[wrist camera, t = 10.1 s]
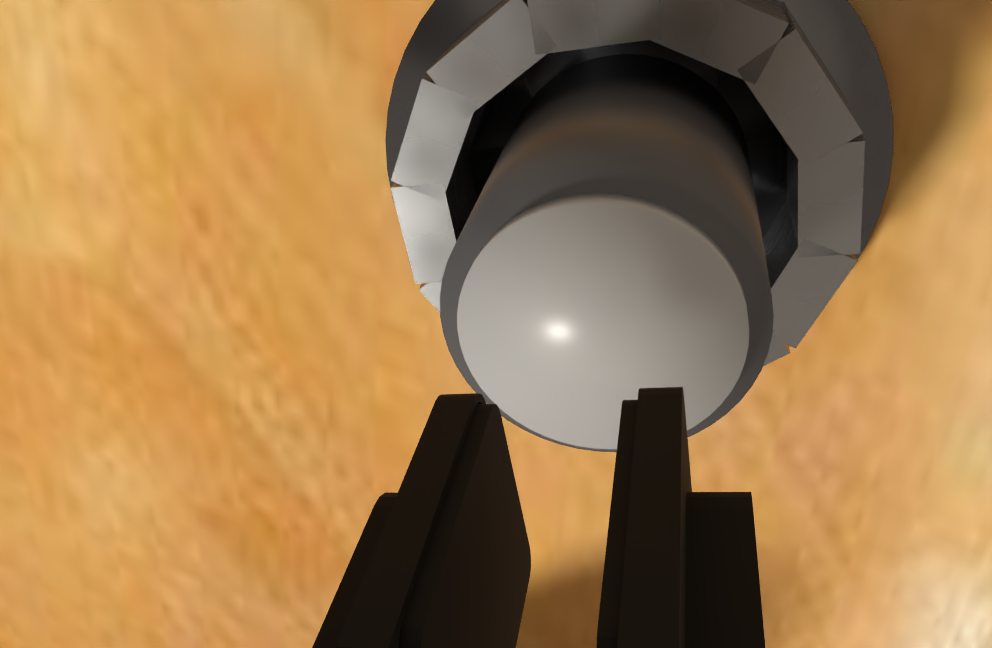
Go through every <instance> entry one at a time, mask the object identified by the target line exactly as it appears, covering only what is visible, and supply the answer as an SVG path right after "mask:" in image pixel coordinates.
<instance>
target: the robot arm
mask: <svg viewBox="0 0 992 648" xmlns="http://www.w3.org/2000/svg"><path fill="white" fill-rule="evenodd" d="M530 570H531V554H530V546H529V542H528V537H527V532H526V528H525V523H524V519H523V514H522V510H521V505H520V500H519V496H518V491H517V487H516V482H515V478H514V473H513V468H512V464H511V459H510V455H509V450H508V446H507V441H506V436H505V432H504V427H503V423H502V418H501V413H500V410H499V407H498V405H496V404H486V402H485V399H484V397H483V395H482V394H480V393H477V394H446V395H440V396H438V398H437V400H436V401H435V404H434V406H433V409H432V411H431V413H430V416H429V418H428V421H427V423H426V426H425V428H424V431H423V433H422V435H421V438H420V440H419V443H418V445H417V448H416V450H415V453H414V455H413V457H412V460H411V462H410V465H409V467H408V470H407V472H406V474H405V477H404V479H403V482H402V484H401V487H400V489H399V492H398V493H384V494H383V495H381V496H380V497H379V499H378V500H377V502H376V504H375V505H374V507H373V510H372V512H371V514H370V517H369V519H368V521H367V523H366V526H365V528H364V530H363V533H362V535H361V537H360V540H359V542H358V544H357V546H356V549H355V551H354V553H353V556H352V558H351V560H350V562H349V565H348V567H347V569H346V572H345V574H344V576H343V579H342V581H341V583H340V585H339V588H338V590H337V592H336V595H335V597H334V599H333V602H332V604H331V606H330V608H329V611H328V613H327V615H326V618H325V620H324V622H323V624H322V627H321V629H320V631H319V634H318V636H317V638H316V641H315V643H314V645H313V647H312V648H515V647H516V642H517V637H518V632H519V627H520V622H521V617H522V612H523V608H524V603H525V598H526V593H527V588H528V583H529V578H530ZM597 648H765V640H764V629H763V617H762V606H761V595H760V583H759V572H758V561H757V549H756V538H755V527H754V515H753V504H752V495H751V492H692V488H691V476H690V463H689V451H688V439H687V426H686V414H685V402H684V392H683V387H663V388H639V391H638V400H623V401H622V407H621V417H620V426H619V435H618V444H617V454H616V463H615V472H614V481H613V491H612V500H611V509H610V518H609V528H608V537H607V546H606V555H605V565H604V574H603V583H602V592H601V602H600V611H599V620H598V631H597Z"/></svg>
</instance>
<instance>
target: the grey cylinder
mask: <svg viewBox="0 0 992 648" xmlns="http://www.w3.org/2000/svg"><path fill="white" fill-rule="evenodd" d="M440 317H441V322H442V328H443V333H444V337H445V340H446V343H447V346H448V349H449V351H450V353H451V356H452V358H453V360H454V362H455V364H456V366H457V368H458V369H459V371H460V372H461V374H462V375H463V377H464V378H465V380H466V381H467V383H468V384H469V385H470V386H471V387H472V389H473V390H474V391H475V392H476V393H480V394H482V395H483V397H484V399H485V402H486V403H487V404H496V405H498V407H499V410H500V413H501V416H503V417H504V418H505V419H507V420H508V421H510V422H512V423H513V424H515V425H517V426H518V427H520V428H522V429H523V430H525V431H528V432H530V433H532V434H534V435H536V436H538V437H540V438H543V439H546V440H549V441H552V442H555V443H558V444H561V445H565V446H569V447H574V448H578V449H584V450H592V451H603V452H617V444H618V435H619V426H620V417H621V407H622V401H623V400H638V391H639V388H663V387H683V392H684V402H685V414H686V426H687V437H689V436H692V435H694V434H696V433H698V432H700V431H701V430H703V429H705V428H707V427H709V426H710V425H712V424H713V423H715V422H716V421H717V420H719V419H720V418H722V417H723V416H724V415H726V414H727V413H728V412H729V411H730V410H731V409H732V408H733V407H734V406H735V405H736V404H737V403H738V402H740V400H741V399H742V398H743V397H744V395H745V394H746V393H747V392H748V390H749V389H750V388H751V387H752V385H753V383H754V382H755V380H756V378H757V377H758V375H759V373H760V372H761V370H762V367H763V365H764V362H765V360H766V357H767V355H768V352H769V347H770V343H771V338H772V333H773V318H774V314H773V303H772V294H771V288H770V282H769V276H768V270H767V264H766V258H765V251H764V245H763V239H762V233H761V227H760V221H759V215H758V209H757V203H756V197H755V191H754V185H753V179H752V172H751V166H750V160H749V154H748V148H747V144H746V140H745V136H744V133H743V130H742V128H741V125H740V123H739V121H738V118H737V117H736V115H735V113H734V112H733V110H732V108H731V107H730V105H729V104H728V102H727V101H726V100H725V99H724V97H723V96H722V95H721V94H720V93H719V92H718V91H717V90H716V89H715V88H714V87H713V86H712V85H711V84H710V83H709V82H708V81H706V80H705V79H703V78H702V77H701V76H699V75H698V74H696V73H695V72H693V71H691V70H689V69H687V68H685V67H683V66H682V65H680V64H677V63H674V62H671V61H669V60H666V59H663V58H658V57H653V56H648V55H639V54H618V55H609V56H604V57H599V58H594V59H591V60H588V61H585V62H582V63H579V64H577V65H575V66H573V67H571V68H569V69H567V70H565V71H563V72H562V73H560V74H559V75H557V76H556V77H555V78H553V79H552V80H550V81H549V82H548V83H547V84H546V85H545V86H543V87H542V88H541V89H540V90H539V91H538V92H537V93H536V94H535V96H534V97H533V98H532V99H531V100H530V101H529V103H528V104H527V106H526V107H525V109H524V110H523V112H522V113H521V115H520V117H519V119H518V121H517V123H516V125H515V127H514V129H513V131H512V133H511V135H510V137H509V139H508V141H507V143H506V145H505V147H504V148H503V150H502V152H501V154H500V156H499V158H498V160H497V162H496V164H495V166H494V168H493V170H492V172H491V174H490V176H489V178H488V180H487V182H486V184H485V186H484V188H483V190H482V192H481V194H480V196H479V198H478V200H477V202H476V204H475V206H474V208H473V210H472V212H471V214H470V216H469V218H468V220H467V222H466V224H465V226H464V228H463V230H462V232H461V234H460V236H459V238H458V240H457V242H456V244H455V246H454V248H453V250H452V252H451V254H450V257H449V259H448V261H447V264H446V267H445V271H444V274H443V278H442V284H441V292H440Z"/></svg>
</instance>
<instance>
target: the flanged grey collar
mask: <svg viewBox="0 0 992 648" xmlns="http://www.w3.org/2000/svg"><path fill="white" fill-rule="evenodd" d="M618 54H639V55H648V56H653V57H658V58H663V59H666V60H669V61H671V62H674V63H677V64H680V65H682V66H683V67H685V68H687V69H689V70H691V71H693V72H695V73H696V74H698V75H699V76H701V77H702V78H703V79H705V80H706V81H708V82H709V83H710V84H711V85H712V86H713V87H714V88H715V89H716V90H717V91H718V92H719V93H720V94H721V95H722V96H723V97H724V99H725V100H726V101H727V102H728V104H729V105H730V107H731V108H732V110H733V112H734V113H735V115H736V117H737V118H738V121H739V123H740V125H741V128H742V130H743V133H744V136H745V140H746V144H747V148H748V154H749V160H750V166H751V172H752V179H753V185H754V191H755V197H756V203H757V209H758V215H759V221H760V227H761V233H762V239H763V245H764V251H765V258H766V264H767V270H768V276H769V282H770V288H771V294H772V303H773V314H774V318H773V333H772V338H771V343H770V347H769V352H768V355H767V357H766V360H765V362H764V365H763V366H765V365H767V364H769V363H771V362H773V361H775V360H777V359H779V358H781V357H783V356H785V355H787V354H789V353H790V350H789V346H791V347H794V348H796V347H797V346H798V344H799V343H800V341H801V340H802V339H803V337H804V336H805V334H806V333H807V331H808V330H809V329H810V327H811V326H812V324H813V323H814V322H815V320H816V319H817V317H818V316H819V315H820V313H821V312H822V310H823V309H824V308H825V306H826V305H827V303H828V302H829V300H830V299H831V298H832V296H833V295H834V293H835V292H836V291H837V289H838V288H839V286H840V285H841V284H842V282H843V281H844V279H845V278H846V277H847V275H848V274H849V272H850V271H851V269H852V268H853V267H854V265H855V264H856V262H857V259H858V257H859V256H860V254H861V253H862V251H863V249H864V248H865V246H866V244H867V243H868V240H869V238H870V236H871V234H872V231H873V229H874V227H875V225H876V222H877V220H878V218H879V215H880V213H881V209H882V206H883V202H884V199H885V195H886V192H887V188H888V185H889V179H890V172H891V164H892V157H893V114H892V108H891V102H890V96H889V90H888V84H887V80H886V77H885V74H884V71H883V68H882V65H881V62H880V59H879V56H878V53H877V50H876V48H875V46H874V44H873V42H872V40H871V38H870V36H869V34H868V32H867V30H866V29H865V27H864V25H863V23H862V21H861V19H860V17H859V16H858V14H857V13H856V12H855V10H854V9H853V7H852V6H851V5H850V3H849V2H848V1H847V0H435V1H434V3H433V4H432V6H431V7H430V8H429V10H428V11H427V13H426V14H425V15H424V17H423V18H422V19H421V21H420V23H419V25H418V27H417V28H416V30H415V32H414V34H413V36H412V38H411V40H410V42H409V44H408V46H407V47H406V49H405V52H404V55H403V57H402V60H401V63H400V66H399V68H398V71H397V74H396V77H395V79H394V84H393V89H392V93H391V98H390V103H389V107H388V115H387V129H386V155H387V171H388V176H389V181H390V186H391V192H392V197H393V201H394V204H395V207H396V210H397V214H398V218H399V222H400V226H401V230H402V234H403V238H404V241H405V245H406V249H407V253H408V257H409V261H410V265H411V269H412V273H413V277H414V280H415V284H420V283H422V284H421V286H420V288H419V291H420V292H421V293H422V294H423V295H424V296H425V297H426V298H427V299H428V300H429V301H430V303H431V304H432V305H433V306H434V307H435V308H436V309H437V310H438V311H439V312H440V292H441V284H442V278H443V274H444V271H445V267H446V264H447V261H448V259H449V257H450V254H451V252H452V250H453V248H454V246H455V244H456V242H457V240H458V238H459V236H460V234H461V232H462V230H463V228H464V226H465V224H466V222H467V220H468V218H469V216H470V214H471V212H472V210H473V208H474V206H475V204H476V202H477V200H478V198H479V196H480V194H481V192H482V190H483V188H484V186H485V184H486V182H487V180H488V178H489V176H490V174H491V172H492V170H493V168H494V166H495V164H496V162H497V160H498V158H499V156H500V154H501V152H502V150H503V148H504V147H505V145H506V143H507V141H508V139H509V137H510V135H511V133H512V131H513V129H514V127H515V125H516V123H517V121H518V119H519V117H520V115H521V113H522V112H523V110H524V109H525V107H526V106H527V104H528V103H529V101H530V100H531V99H532V98H533V97H534V96H535V94H536V93H537V92H538V91H539V90H540V89H541V88H542V87H543V86H545V85H546V84H547V83H548V82H549V81H550V80H552V79H553V78H555V77H556V76H557V75H559V74H560V73H562V72H563V71H565V70H567V69H569V68H571V67H573V66H575V65H577V64H579V63H582V62H585V61H588V60H591V59H594V58H599V57H604V56H609V55H618Z"/></svg>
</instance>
